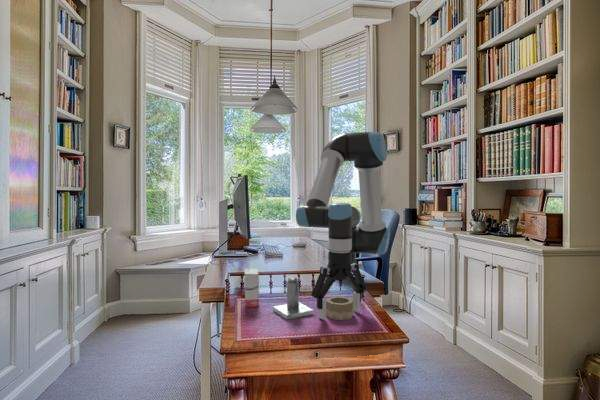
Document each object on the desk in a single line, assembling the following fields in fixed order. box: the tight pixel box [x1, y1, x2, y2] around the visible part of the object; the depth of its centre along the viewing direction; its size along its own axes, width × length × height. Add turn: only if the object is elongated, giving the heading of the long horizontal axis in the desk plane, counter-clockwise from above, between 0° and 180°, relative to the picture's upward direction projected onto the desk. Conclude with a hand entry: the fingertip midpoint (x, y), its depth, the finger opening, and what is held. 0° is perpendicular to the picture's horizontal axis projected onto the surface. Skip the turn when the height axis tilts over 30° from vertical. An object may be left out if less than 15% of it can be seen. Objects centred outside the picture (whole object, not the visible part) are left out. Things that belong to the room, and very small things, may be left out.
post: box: [272, 277, 315, 321], centre depth 143 cm, size 10×10×12 cm
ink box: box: [244, 268, 260, 308], centre depth 153 cm, size 9×5×12 cm, turn 5°
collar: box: [325, 295, 354, 321], centre depth 141 cm, size 8×8×5 cm
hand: (339, 315), depth 141 cm, fingers open, 13 cm apart
